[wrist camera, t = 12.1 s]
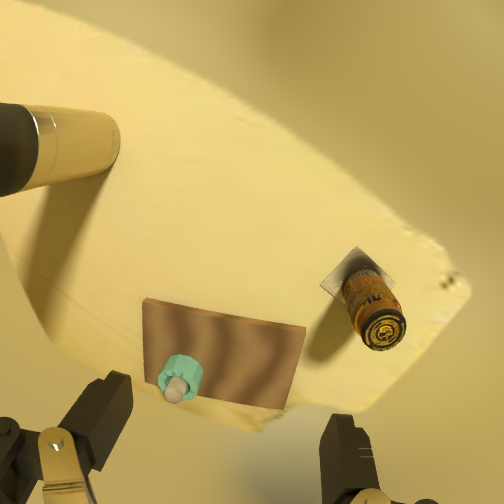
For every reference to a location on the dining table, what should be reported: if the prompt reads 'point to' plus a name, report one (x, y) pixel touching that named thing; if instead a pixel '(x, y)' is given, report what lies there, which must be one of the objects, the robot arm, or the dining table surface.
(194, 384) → the ring
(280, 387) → the board
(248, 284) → the dining table surface
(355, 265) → the condiment
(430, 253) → the dining table surface
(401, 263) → the dining table surface
